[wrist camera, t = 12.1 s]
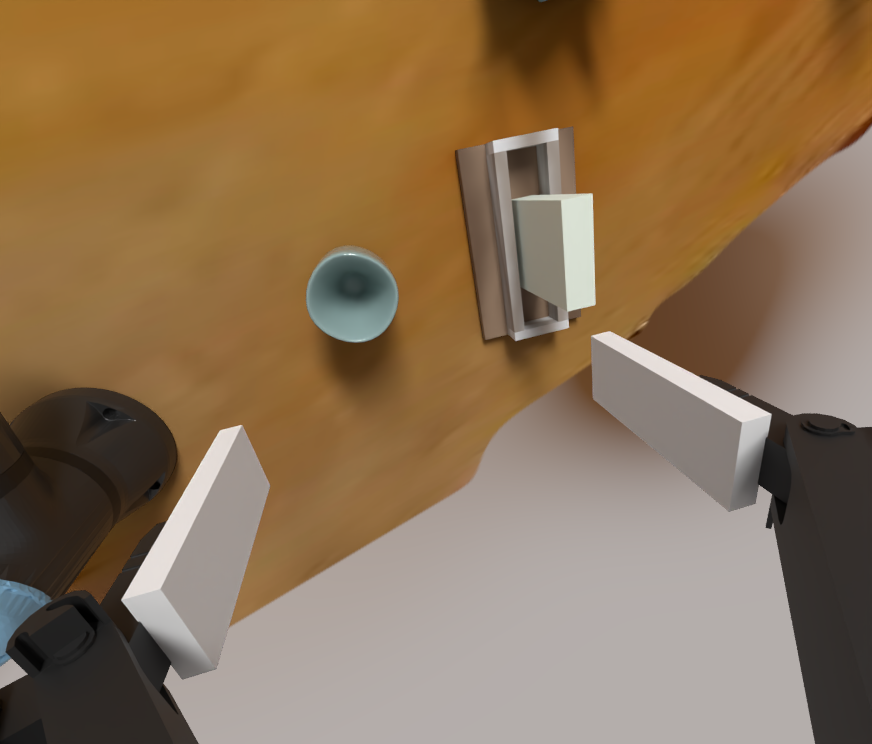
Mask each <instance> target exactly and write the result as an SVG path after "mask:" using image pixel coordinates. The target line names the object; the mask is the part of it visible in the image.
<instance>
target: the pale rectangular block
mask: <svg viewBox="0 0 872 744" xmlns="http://www.w3.org/2000/svg"><path fill="white" fill-rule="evenodd" d="M512 210H513V220H514V230H515V239H516V249H517V259H518V268H519V278H520V287H522V288H523V289H525V290H527V291H529V292H531V293H533V294H535V295H537V296H538V297H540V298H542V299H544V300H546V301H548V302H550V303H552V304H554V305H555V306H557V307H559V308H561V309H563V310H565V311H567V312H568V311H572V310H576V309H580V308H585V307H589V306H593V305H595V271H594V231H593V194H556V195H530V196H526V197H521V198H517V199H512Z"/></svg>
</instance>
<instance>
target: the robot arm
mask: <svg viewBox="0 0 872 744" xmlns="http://www.w3.org/2000/svg"><path fill="white" fill-rule="evenodd" d="M591 351H592V380H593V381H592V383H593V399H594V400H595V401H596V402H598V403H599V404H600V405H601V406H602V407H604V408H605V409H606V410H607V411H609V412H610V413H611V414H612V415H613V416H614V417H616V418H617V419H618V420H619V421H620V422H622V423H623V424H624V425H625V426H626V427H628V428H629V429H630V430H631V431H632V432H634V433H635V434H636V435H637V436H638V437H640V438H641V439H642V440H643V441H645V442H646V443H647V444H648V445H649V446H650V447H652V448H653V449H654V450H655V451H657V452H658V453H659V454H660V455H661V456H663V457H664V458H665V459H666V460H668V461H669V462H670V463H671V464H672V465H673V466H675V467H676V468H677V469H678V470H679V471H681V472H682V473H683V474H684V475H686V476H687V477H688V478H689V479H690V480H691V481H693V482H694V483H695V484H696V485H697V486H699V487H700V488H701V489H703V491H705V492H706V493H707V494H708V495H710V496H711V497H712V498H713V499H714V500H716V501H717V502H718V503H719V504H720V505H722V506H723V507H724V508H725V509H726V510H728V511H729V512H730V511H733V510H736V509H740V508H743V507H746V506H749V505H753V504H755V503H756V497H757V492H758V487H759V485H760V486H762V487H763V488H764V489H766V490H767V491H769V492H770V493H771V494H772V498H771V503H770V508H769V513H768V518H767V523H766V528H769V529H771V527H772V524H773V523H774V528H775V534H776V539H777V545H778V549H779V555H780V560H781V565H782V571H783V576H784V582H785V587H786V592H787V598H788V603H789V608H790V613H791V619H792V624H793V629H794V635H795V640H796V645H797V650H798V656H799V661H800V666H801V672H802V676H803V682H804V687H805V692H806V697H807V703H808V708H809V714H810V719H811V724H812V729H813V735H814V740H815V744H872V427H862V428H857V427H856V426H855V425H853V424H851V423H849V422H847V421H845V420H843V419H839V418H836V417H833V416H828V415H822V414H799V415H794V416H793V415H791V414H788V413H787V412H785V411H783V410H781V409H779V408H777V407H774V406H772V405H771V404H768V403H766V402H764V401H762V400H760V399H758V398H756V397H754V396H749V394H748V393H746V392H744V391H742V390H740V389H736V387H734V386H732V385H730V384H728V383H726V382H723V381H722V380H718V379H715V378H711V377H707V376H703V375H700V376H696V375H694V374H692V373H690V372H688V371H686V370H684V369H682V368H680V367H679V366H677V365H675V364H673V363H671V362H669V361H667V360H665V359H663V358H661V357H659V356H657V355H655V354H653V353H651V352H649V351H647V350H645V349H643V348H641V347H639V346H637V345H636V344H634V343H632V342H630V341H628V340H626V339H624V338H622V337H620V336H618V335H616V334H614V333H612V332H610V331H609V332H605V333H601V334H597V335H593V336H591ZM175 464H176V446H175V442H174V439H173V437H172V435H171V433H170V431H169V429H168V428H167V426H166V425H165V423H164V422H163V421H162V420H161V419H160V418H159V417H158V416H157V415H156V414H155V413H154V412H153V411H152V410H150V409H149V408H148V407H146V406H145V405H143V404H142V403H140V402H138V401H136V400H134V399H132V398H130V397H128V396H125V395H123V394H120V393H117V392H113V391H109V390H104V389H97V388H73V389H66V390H62V391H58V392H55V393H52V394H50V395H48V396H46V397H44V398H42V399H40V400H39V401H37V402H36V403H34V404H32V405H31V406H29V407H28V408H26V409H25V410H24V411H22V412H21V413H20V414H19V415H18V416H17V417H16V418H15V419H14V420H13V421H12V423H11V424H10V426H9V424H8V423H7V421H6V420H5V418H4V417H3V415H2V414H1V412H0V666H2V665H3V664H4V663H6V662H7V661H8V660H9V659H11V658H12V659H13V660H14V661H15V662H16V663H17V664H18V665H19V666H20V667H21V668H22V669H23V670H25V672H26V673H27V674H28V675H26V676H24V677H22V678H20V679H18V680H16V681H14V682H12V683H11V684H9V685H7V686H5V687H3V688H1V689H0V744H198V742H197V740H196V738H195V736H194V735H193V733H192V731H191V729H190V727H189V725H188V724H187V722H186V720H185V718H184V717H183V715H182V713H181V711H180V709H179V708H178V706H177V704H176V702H175V700H174V698H173V697H172V695H171V693H170V691H169V690H168V689H167V688H166V686H165V685H164V684H163V682H164V680H165V677H166V675H167V672H168V670H169V667H170V665H172V667H173V668H174V669H175V671H176V672H177V673H178V675H179V676H180V677H181V679H186V678H189V677H192V676H196V675H199V674H202V673H205V672H208V671H212V670H215V669H217V665H218V661H219V658H220V655H221V651H222V648H223V645H224V641H225V638H226V634H227V631H228V628H229V624H230V621H231V618H232V614H233V611H234V607H235V604H236V601H237V597H238V594H239V590H240V587H241V583H242V580H243V577H244V573H245V570H246V566H247V563H248V560H249V556H250V553H251V549H252V546H253V543H254V539H255V536H256V532H257V529H258V526H259V522H260V519H261V515H262V512H263V509H264V505H265V502H266V498H267V495H268V492H269V488H270V484H269V482H268V480H267V478H266V476H265V473H264V471H263V469H262V467H261V465H260V463H259V460H258V458H257V456H256V454H255V452H254V449H253V447H252V445H251V443H250V441H249V439H248V436H247V434H246V432H245V430H244V428H243V426H242V425H239V426H235V427H232V428H228V429H224V430H220V431H219V433H218V435H217V436H216V438H215V440H214V442H213V443H212V445H211V447H210V448H209V450H208V452H207V454H206V455H205V457H204V459H203V460H202V462H201V464H200V466H199V467H198V469H197V471H196V472H195V474H194V476H193V478H192V479H191V481H190V483H189V485H188V486H187V488H186V490H185V491H184V493H183V495H182V497H181V498H180V500H179V502H178V503H177V505H176V507H175V509H174V510H173V512H172V514H171V515H170V517H169V519H168V521H166V522H163V523H159V524H157V525H156V526H155V527H153V528H152V529H151V530H150V531H149V532H148V533H147V534H146V535H145V536H144V537H143V538H142V539H141V540H140V542H139V543H138V545H137V547H136V548H135V550H134V551H133V553H132V555H131V556H130V557H131V559H129V560H128V561H127V563H126V564H125V566H124V567H123V569H122V573H120V574H119V575H118V577H117V578H116V580H115V582H114V583H113V585H112V586H111V588H110V590H109V591H108V593H107V594H106V596H105V598H104V599H103V601H102V602H101V604H100V605H99V604H98V602H97V601H96V600H95V599H94V597H93V596H92V595H91V594H90V593H88V592H87V591H86V590H82V591H73V592H70V593H67V594H65V593H66V592H67V590H68V589H69V587H70V586H71V585H72V583H73V582H74V580H75V579H76V578H77V576H78V575H79V573H80V572H81V571H82V569H83V568H84V566H85V565H86V564H87V562H88V561H89V559H90V558H91V557H92V555H93V554H94V553H95V551H96V550H97V548H98V547H99V546H100V544H101V543H102V541H103V540H104V539H105V537H106V536H107V534H108V533H109V532H110V530H111V529H112V528H113V526H114V525H115V524H116V523H118V522H119V521H121V520H122V519H124V518H125V517H127V516H128V515H130V514H131V513H133V512H134V511H136V510H137V509H139V508H140V507H142V506H143V505H145V504H146V503H148V502H149V501H150V500H152V499H153V498H154V497H155V496H156V495H157V494H158V493H159V492H160V491H161V489H162V488H163V486H164V485H165V484H166V482H167V481H168V479H169V478H170V476H171V474H172V472H173V470H174V467H175ZM64 594H65V595H64Z"/></svg>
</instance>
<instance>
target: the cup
mask: <svg viewBox="0 0 872 744" xmlns="http://www.w3.org/2000/svg"><path fill="white" fill-rule="evenodd" d="M398 300H399V296H398V287H397V283H396V280H395V277H394V276H393V274H392V272H391V270H390V268H389V267H388V265H387V264H386V263H385V262H384V261H383V260H382V259H381V258H380V257H379V256H378V255H376V254H375V253H373V252H371V251H369V250H368V249H365V248H362V247H358V246H352V245H349V246H341V247H337V248H334V249H333V250H331V251H329V252H328V253H327V254H326V255H325V256H323V257H322V258H321V260H320V261H319V263H318V264H317V265H316V267H315V268H314V270H313V272H312V274H311V276H310V279H309V281H308V285H307V289H306V305H307V310H308V312H309V315H310V317H311V319H312V320H313V322H314V323H315V325H316V326H318V327H319V328H320V329H321V330H322V331H323V332H325V333H326V334H328V335H329V336H331V337H334V338H336V339H338V340H342V341H345V342H353V343H359V342H366V341H370V340H372V339H374V338H376V337H378V336H379V335H381V334H382V333H383V332H384V331H385V330H386V329H387V327H388V326H389V325H390V323H391V322H392V320H393V318H394V316H395V313H396V310H397V307H398Z"/></svg>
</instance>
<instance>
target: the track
mask: <svg viewBox="0 0 872 744" xmlns="http://www.w3.org/2000/svg"><path fill="white" fill-rule="evenodd" d="M455 153H456V160H457V167H458V173H459V180H460V187H461V193H462V200H463V207H464V213H465V220H466V227H467V233H468V240H469V247H470V253H471V260H472V267H473V274H474V280H475V287H476V294H477V300H478V307H479V314H480V320H481V327H482V334H483V338H484V339H485V340H487V339H491V338H495V337H500V336H504V335H509V336H510V337H512V338H513V339H514V340H515V341H518V340H522V339H526V338H530V337H534V336H538V335H542V334H546V333H550V332H554V331H558V330H562V329H566V328H569V320H568V319H573V318H577V317H581V308H580V309H576V310H572V311H568V312H567V311H565V310H563V309H561V308H559V307H557V306H555V305H554V304H552V303H550V302H548V301H546V300H544V299H542V298H540V297H538V296H537V295H535V294H533V293H531V292H529V291H527V290H525V289H523V288H522V287H520V278H519V268H518V259H517V249H516V239H515V230H514V220H513V210H512V199H517V198H521V197H526V196H530V195H556V194H576V185H575V160H574V136H573V127H568V128H563V129H558V128H554V129H550V130H545V131H540V132H535V133H530V134H525V135H520V136H515V137H510V138H505V139H500V140H495V141H492V142H489V143H487V144H484V145H479V146H474V147H469V148H465V149H460V150H456V151H455Z"/></svg>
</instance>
